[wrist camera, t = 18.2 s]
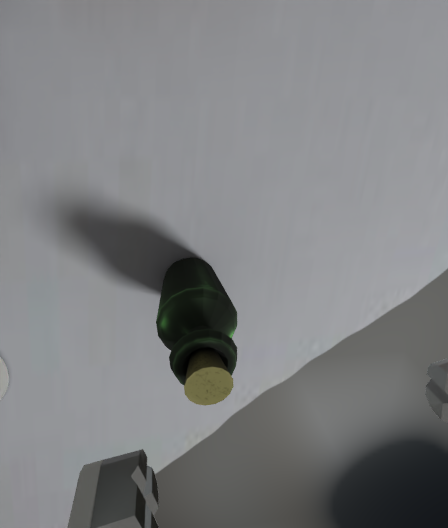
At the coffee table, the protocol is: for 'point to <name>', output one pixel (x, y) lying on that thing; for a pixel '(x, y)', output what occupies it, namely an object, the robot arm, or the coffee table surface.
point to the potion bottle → (198, 330)
